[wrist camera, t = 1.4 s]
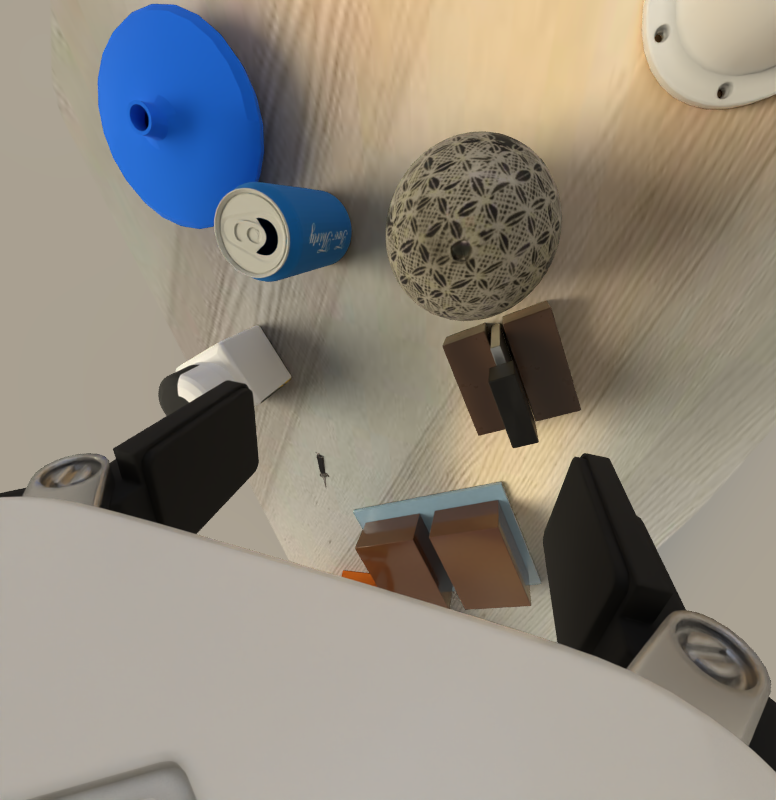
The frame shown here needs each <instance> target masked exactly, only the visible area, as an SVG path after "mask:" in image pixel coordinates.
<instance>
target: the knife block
mask: <svg viewBox="0 0 776 800" xmlns="http://www.w3.org/2000/svg"><path fill="white" fill-rule="evenodd" d="M503 327H504V330H505V333H506V336H507V339H508V342H509V345H510V348H511V350H512V353H513V356H514V359H515V362H516V365H517V368H518V371H519V374H520V377H521V380H522V383H523V385H524V388H525V391H526V394H527V397H528V400H529V403H530V406H531V409H532V412H533V415H534V418H535V421H540V420H544V419H548V418H552V417H556V416H560V415H564V414H568V413H572V412H577V411H580V410H581V407H580V404H579V401H578V397H577V394H576V391H575V387H574V384H573V380H572V377H571V374H570V370H569V367H568V363H567V360H566V357H565V353H564V350H563V347H562V343H561V340H560V336H559V333H558V330H557V326H556V323H555V319H554V316H553V313H552V309H551V307H550V305H549V303H548V302H547V301H544V302H541V303H538V304H535V305H533V306H530V307H527V308H524V309H522V310H519V311H516V312H514V313H511V314H508V315H505V316H503ZM490 346H491V337H490V334H489V331H488V329H487V326H486V323H483V324H481V325H478V326H475V327H473V328H470V329H467V330H464V331H462V332H459V333H456V334H453V335H451V336H448V337H446V339H445V342H444V344H443V349H444V351H445V354H446V356H447V359H448V361H449V364H450V366H451V369H452V371H453V374H454V376H455V379H456V381H457V384H458V386H459V389H460V391H461V394H462V396H463V399H464V401H465V403H466V406H467V408H468V411H469V413H470V416H471V418H472V421H473V423H474V426H475V428H476V431H477V433H478V435H483V434H488V433H492V432H496V431H500V430H504V429H505V426H504V423H503V421H502V418H501V415H500V413H499V410H498V407H497V405H496V402H495V399H494V397H493V394H492V391H491V389H490V386H489V383H488V380H489V368H491V367H494V366H496V364H495V361H494V358H493V355H492V353H491V350H490Z"/></svg>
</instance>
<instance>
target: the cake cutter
mask: <svg viewBox="0 0 776 800" xmlns="http://www.w3.org/2000/svg"><path fill="white" fill-rule="evenodd" d="M490 350H491V353H492V355H493V358H494V361H495V364H496V366H494V367H491V368H489V380H488V383H489V386H490V389H491V391H492V394H493V397H494V399H495V402H496V405H497V407H498V410H499V413H500V415H501V418H502V421H503V423H504V426H505V429H506V431H507V434H508V437H509V439H510V442H511V445H512V447H513V448H517V447H521V446H526V445H530V444H534V443H538V442H539V440H538V435H537V429H536V424H535V421H534V418H533V415H532V412H531V409H530V406H529V403H528V400H527V398H526V395H525V392H524V389H523V386H522V383H521V380H520V377H519V374H518V371H517V368H516V365H515V363H514V361H513V360H512V357H511V355H510V352H509V349H508V346H507V343H506V340H505V337H504V334H503V331H502V328H501V326H500V323H499V324H496V325H493V326H492V327H491V346H490Z"/></svg>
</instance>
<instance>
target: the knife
mask: <svg viewBox="0 0 776 800" xmlns="http://www.w3.org/2000/svg"><path fill="white" fill-rule="evenodd" d="M315 453H316V452H315ZM317 460H318V464H319V469H320V472H321V474H320V476H321V477H323V479H324V483H325V487H326V480H325V477H326V475H327V473H325V469H324V461H323V456H321V455H319V453H317ZM327 476H328V475H327ZM328 477H329V476H328Z"/></svg>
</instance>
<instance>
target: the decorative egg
mask: <svg viewBox="0 0 776 800" xmlns="http://www.w3.org/2000/svg"><path fill="white" fill-rule="evenodd" d="M561 223H562V212H561V204H560V198H559V194H558V190H557V187H556V184H555V181H554V179H553V177H552V176H551V174H550V172H549V170H548V168H547V167H546V165H545V164H544V162H543V161H542V159H541V158H539V157H538V156H537V155H536V154H535V153H534V152H533V151H532V150H531V149H530V148H529V147H527V146H526V145H525V144H523V143H521V142H520V141H518V140H515V139H513V138H511V137H508V136H506V135H503V134H499V133H492V132H470V133H465V134H460V135H456V136H453V137H451V138H448V139H446V140H444V141H442V142H440V143H438V144H437V145H435V146H433V147H432V148H430V149H429V150H427V151H426V152H425V153H424V154H422V155H421V156H420V157H419V158H418V159H417V160H416V161H415V162H414V163H413V164H412V165H411V167H410V168H409V169H408V171H407V172H406V174H405V175H404V176H403V178H402V179H401V181H400V183H399V184H398V186H397V188H396V191H395V193H394V195H393V198H392V200H391V203H390V207H389V211H388V216H387V222H386V247H387V253H388V258H389V262H390V265H391V268H392V270H393V273H394V275H395V277H396V279H397V281H398V283H399V284H400V286H401V287H402V288H403V290H404V291H405V292H406V294H407V295H408V296H409V297H410V298H411V299H412V300H413V301H414V302H415V303H417V304H418V305H419V306H421V307H422V308H424V309H425V310H427V311H429V312H430V313H432V314H435V315H438V316H440V317H444V318H447V319H451V320H459V321H471V320H479V319H485V318H489V317H492V316H495V315H497V314H500V313H502V312H504V311H506V310H508V309H510V308H511V307H513V306H515V305H516V304H517V303H519V302H520V301H522V300H523V299H524V298H525V297H526V296H527V295H528V294H529V293H530V292H531V291H532V290H533V289H534V288H535V287H536V286H537V285H538V284H539V282H540V281H541V280H542V278H543V277H544V275H545V274H546V272H547V271H548V268H549V267H550V265H551V263H552V260H553V258H554V255H555V253H556V250H557V247H558V243H559V239H560V233H561Z"/></svg>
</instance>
